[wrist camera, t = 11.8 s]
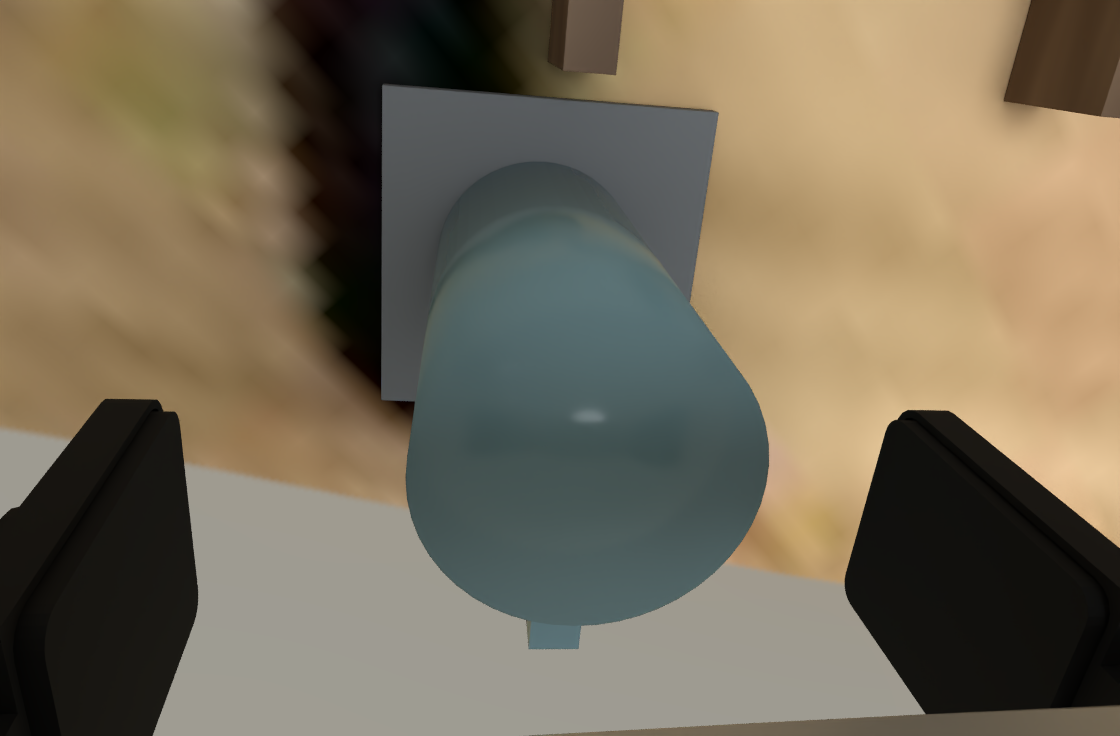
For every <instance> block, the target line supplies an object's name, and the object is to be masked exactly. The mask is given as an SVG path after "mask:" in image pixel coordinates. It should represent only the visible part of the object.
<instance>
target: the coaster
mask: <svg viewBox="0 0 1120 736" xmlns="http://www.w3.org/2000/svg"><path fill="white" fill-rule="evenodd" d="M718 114H719V113H718V112H716V111H713V110H702V109H689V108H677V107H665V106H653V105H640V104H628V103H616V102H603V101H591V100H579V99H567V98H554V97H542V96H530V95H517V94H505V93H493V92H481V91H468V90H456V89H444V88H431V87H419V86H407V85H394V84H384V85H382V353H381V400H393V401H416V394H417V387H418V380H419V374H420V367H421V360H422V353H423V346H424V339H425V333H426V326H427V319H428V312H429V305H430V298H431V292H432V285H433V278H434V271H435V264H436V257H437V251H438V244H439V239H440V235H441V231H442V228H443V226H444V223H445V220H446V218H447V216H448V214H449V213H450V211H451V209H452V207H453V206H454V204H455V203H456V202H457V200H458V199H459V198H460V196H461V195H462V194H463V193H464V192H465V191H466V190H467V189H468V188H469V187H470V186H472V185H473V184H474V183H475V182H477V181H478V180H479V179H481V178H482V177H484V176H486V175H488V174H489V173H491V172H493V171H496V170H498V169H500V168H503V167H506V166H509V165H513V164H517V163H524V162H550V163H557V164H561V165H564V166H568V167H571V168H573V169H576V170H578V171H580V172H582V173H584V174H586V175H588V176H589V177H591V178H593V179H594V180H595V181H596V182H598V183H599V184H600V185H601V186H603V187H604V188H605V189H606V190H607V191H608V192H609V193H610V195H611V196H612V197H613V198H614V200H615V201H616V202H617V204H618V205H619V206H620V208H621V209H622V211H623V212H624V213H625V215H626V216H627V217H628V219H629V220H630V222H631V223H632V224H633V226H634V227H635V229H636V230H637V231H638V233H639V234H640V235H641V237H642V238H643V240H644V241H645V242H646V244H647V245H648V246H649V248H650V249H651V251H652V252H653V253H654V255H655V256H656V257H657V259H658V260H659V262H660V263H661V264H662V266H663V267H664V268H665V270H666V271H667V273H668V274H669V275H670V277H671V278H672V280H673V281H674V282H675V284H676V285H677V286H678V288H679V289H680V291H681V292H682V293H683V295H684V296H685V297H686V299H687V300H688V302H689V303H690V298H691V291H692V284H693V278H694V271H695V265H696V258H697V252H698V245H699V238H700V232H701V225H702V219H703V212H704V206H705V199H706V192H707V186H708V179H709V173H710V166H711V160H712V153H713V146H714V140H715V133H716V127H717V120H718Z"/></svg>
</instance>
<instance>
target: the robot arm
mask: <svg viewBox="0 0 1120 736" xmlns="http://www.w3.org/2000/svg"><path fill="white" fill-rule="evenodd" d="M845 591H846V595H847V598H848V600H849V602H850V604H851V605H852V607H853V609H854V610H855V612H856V613H857V614H858V616H859V617H860V619H861V620H862V622H863V623H864V625H865V626H866V628H867V629H868V630H869V632H870V633H871V635H872V636H873V638H874V639H875V641H876V642H877V644H878V645H879V647H880V648H881V649H882V651H883V652H884V654H885V655H886V657H887V658H888V660H889V661H890V663H891V664H892V666H893V667H894V668H895V670H896V671H897V673H898V674H899V676H900V677H901V678H902V680H903V682H904V683H905V685H906V686H907V688H908V689H909V690H910V692H911V693H912V695H913V696H914V698H915V699H916V701H917V702H918V703H919V705H920V706H921V708H922V709H923V711H924V712H925V714H923V715H904V716H885V717H864V718H847V719H846V718H845V719H827V720H807V721H787V722H768V723H749V724H732V725H713V726H696V727H677V728H659V729H643V730H642V729H641V730H625V731H606V732H588V733H569V734H549V735H532V736H1120V548H1119V547H1117V546H1116V545H1115V544H1114V543H1113V542H1111V541H1110V540H1109V539H1108V538H1106V537H1105V536H1104V535H1103V534H1101V533H1100V532H1099V531H1098V530H1097V529H1095V528H1094V527H1093V526H1092V525H1090V524H1089V523H1088V522H1087V521H1085V520H1084V519H1083V518H1082V517H1080V516H1079V515H1078V514H1077V513H1076V512H1074V511H1073V510H1072V509H1071V508H1069V507H1068V506H1067V505H1066V504H1064V503H1063V502H1062V501H1061V500H1060V499H1058V498H1057V497H1056V496H1055V495H1053V494H1052V493H1051V492H1050V491H1048V490H1047V489H1046V488H1045V487H1043V486H1042V485H1041V484H1040V483H1039V482H1037V481H1036V480H1035V479H1034V478H1032V477H1031V476H1030V475H1029V474H1027V473H1026V472H1025V471H1024V470H1022V469H1021V468H1020V467H1019V466H1018V465H1016V464H1015V463H1014V462H1013V461H1011V460H1010V459H1009V458H1008V457H1006V456H1005V455H1004V454H1003V453H1002V452H1000V451H999V450H998V449H997V448H995V447H994V446H993V445H992V444H990V443H989V442H988V441H987V440H985V439H984V438H983V437H982V436H981V435H979V434H978V433H977V432H976V431H974V430H973V429H972V428H971V427H969V426H968V425H967V424H966V423H965V422H963V421H962V420H961V419H960V418H958V417H957V416H956V415H955V414H953V413H951V412H949V411H934V410H907V411H905V412H903V413H902V414H901V415H900V417H899V418H898V420H894V421H892V422H891V423H890V424H889V425H888V427H887V430H886V432H885V436H884V439H883V443H882V447H881V450H880V454H879V457H878V461H877V464H876V468H875V472H874V475H873V479H872V482H871V486H870V489H869V493H868V496H867V500H866V504H865V507H864V511H863V514H862V518H861V521H860V525H859V529H858V532H857V536H856V539H855V543H854V546H853V550H852V554H851V557H850V561H849V564H848V568H847V571H846V575H845ZM197 606H198V585H197V576H196V567H195V559H194V550H193V540H192V531H191V523H190V513H189V504H188V495H187V486H186V477H185V468H184V458H183V449H182V440H181V431H180V423H179V418H178V416H177V414H176V412H163V409H162V406H161V404H160V402H159V401H158V400H141V399H105V400H104V401H103V402H101V404H100V405H99V406H98V407H97V409H96V410H95V411H94V412H93V414H92V415H91V416H90V418H89V419H88V420H87V421H86V423H85V424H84V425H83V426H82V428H81V429H80V430H79V432H78V433H77V434H76V435H75V437H74V438H73V439H72V440H71V442H70V443H69V444H68V446H67V447H66V448H65V449H64V451H63V452H62V453H61V454H60V456H59V457H58V458H57V459H56V461H55V462H54V463H53V465H52V466H51V467H50V469H49V470H48V471H47V472H46V473H45V475H44V476H43V477H42V479H41V480H40V481H39V483H38V484H37V485H36V486H35V487H34V489H33V490H32V491H31V493H30V494H29V495H28V496H27V498H26V499H25V500H24V501H23V503H22V504H21V505H20V507H16V508H12V509H10V510H9V511H8V512H7V513H6V514H5V515H4V516H3V517H2V518H1V519H0V736H153V733H154V730H155V727H156V725H157V722H158V719H159V717H160V714H161V711H162V708H163V705H164V703H165V700H166V697H167V695H168V692H169V689H170V687H171V684H172V681H173V679H174V675H175V673H176V670H177V667H178V665H179V662H180V660H181V657H182V654H183V651H184V649H185V646H186V643H187V640H188V638H189V635H190V632H191V630H192V627H193V624H194V621H195V617H196V613H197Z"/></svg>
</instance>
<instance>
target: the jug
mask: <svg viewBox="0 0 1120 736" xmlns="http://www.w3.org/2000/svg"><path fill="white" fill-rule="evenodd" d="M768 467H769V443H768V437H767V431H766V425H765V422H764V419H763V415H762V412H761V409H760V406H759V404H758V402H757V400H756V398H755V396H754V394H753V392H752V390H751V388H750V386H749V384H748V383H747V382H746V380H745V379H744V377H743V376H742V375H741V373H740V372H739V370H738V369H737V368H736V366H735V365H734V364H733V362H732V361H731V359H730V358H729V357H728V355H727V354H726V353H725V351H724V350H723V348H722V347H721V346H720V344H719V343H718V342H717V340H716V339H715V337H714V336H713V335H712V333H711V332H710V331H709V329H708V328H707V326H706V325H705V324H704V322H703V321H702V319H701V318H700V317H699V315H698V314H697V313H696V311H695V310H694V308H693V307H692V306H691V304H690V303H689V302H688V300H687V299H686V297H685V296H684V295H683V293H682V292H681V291H680V289H679V288H678V286H677V285H676V284H675V282H674V281H673V280H672V278H671V277H670V275H669V274H668V273H667V271H666V270H665V268H664V267H663V266H662V264H661V263H660V262H659V260H658V259H657V257H656V256H655V255H654V253H653V252H652V251H651V249H650V248H649V246H648V245H647V244H646V242H645V241H644V240H643V238H642V237H641V235H640V234H639V233H638V231H637V230H636V229H635V227H634V226H633V224H632V223H631V222H630V220H629V219H628V217H627V216H626V215H625V213H624V212H623V211H622V209H621V208H620V206H619V205H618V204H617V202H616V201H615V200H614V198H613V197H612V196H611V195H610V193H609V192H608V191H607V190H606V189H605V188H604V187H603V186H601V185H600V184H599V183H598V182H596V181H595V180H594V179H593V178H591V177H589V176H588V175H586V174H584V173H582V172H580V171H578V170H576V169H573V168H571V167H568V166H564V165H561V164H557V163H550V162H524V163H517V164H513V165H509V166H506V167H503V168H500V169H498V170H496V171H493V172H491V173H489V174H488V175H486V176H484V177H482V178H481V179H479V180H478V181H477V182H475V183H474V184H473V185H472V186H470V187H469V188H468V189H467V190H466V191H465V192H464V193H463V194H462V195H461V196H460V198H459V199H458V200H457V202H456V203H455V204H454V206H453V207H452V209H451V211H450V213H449V214H448V216H447V218H446V220H445V223H444V226H443V228H442V231H441V235H440V239H439V244H438V251H437V257H436V264H435V271H434V278H433V285H432V292H431V298H430V305H429V312H428V319H427V326H426V333H425V339H424V346H423V353H422V360H421V367H420V374H419V380H418V387H417V394H416V401H415V408H414V414H413V421H412V428H411V435H410V442H409V449H408V455H407V467H406V491H407V501H408V505H409V509H410V514H411V518H412V521H413V523H414V526H415V529H416V531H417V534H418V536H419V538H420V540H421V542H422V543H423V545H424V547H425V549H426V550H427V552H428V554H429V555H430V557H431V558H432V559H433V561H434V562H435V563H436V564H437V566H438V567H439V568H440V570H441V571H442V572H443V573H444V574H445V575H446V576H447V577H448V578H449V579H450V580H452V581H453V582H454V583H455V584H456V585H457V586H458V587H460V588H461V589H463V590H464V591H465V592H466V593H468V594H469V595H470V596H472V597H473V598H475V599H477V600H478V601H480V602H482V603H484V604H486V605H488V606H489V607H491V608H493V609H496V610H498V611H501V612H503V613H506V614H508V615H511V616H514V617H518V618H521V619H525V620H526V624H527V635H528V647H529V649H578V648H579V639H580V630H581V626H584V625H599V624H605V623H611V622H617V621H622V620H625V619H629V618H633V617H637V616H640V615H643V614H645V613H648V612H651V611H653V610H656V609H658V608H660V607H663V606H665V605H667V604H669V603H671V602H673V601H674V600H677V599H679V598H680V597H682V596H683V595H685V594H686V593H688V592H690V591H691V590H693V589H694V588H696V587H697V586H699V585H700V584H701V583H702V582H704V581H705V580H706V579H707V578H708V577H710V576H711V575H712V574H713V573H715V571H716V570H717V569H718V568H719V567H720V566H721V565H722V564H723V563H724V562H725V561H726V560H727V559H728V558H729V557H730V556H731V555H732V553H733V552H734V551H735V549H736V548H737V547H738V545H739V544H740V543H741V542H742V540H743V538H744V537H745V535H746V533H747V532H748V530H749V528H750V527H751V525H752V523H753V521H754V519H755V516H756V514H757V512H758V509H759V507H760V505H761V501H762V498H763V494H764V491H765V487H766V482H767V475H768Z"/></svg>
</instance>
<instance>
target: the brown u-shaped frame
mask: <svg viewBox="0 0 1120 736" xmlns="http://www.w3.org/2000/svg"><path fill="white" fill-rule="evenodd" d="M623 3H624V0H553V2H552V15H551V29H550V42H549V55H548V62H549V63H551V64H553V65H555V66H556V67H558V68H560V69H561V70H563V71H574V72H585V73H597V74H609V75H616V70H617V60H618V50H619V41H620V31H621V22H622V12H623ZM1004 101H1006V102H1012V103H1019V104H1025V105H1031V106H1038V107H1044V108H1050V109H1056V110H1063V111H1069V112H1075V113H1082V114H1088V115H1094V116H1100V117H1112V118H1120V0H1032V2H1031V6H1030V9H1029V13H1028V17H1027V20H1026V24H1025V27H1024V31H1023V35H1022V38H1021V42H1020V45H1019V49H1018V53H1017V56H1016V60H1015V63H1014V67H1013V71H1012V74H1011V78H1010V81H1009V85H1008V89H1007V92H1006V96H1005V99H1004Z"/></svg>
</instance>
